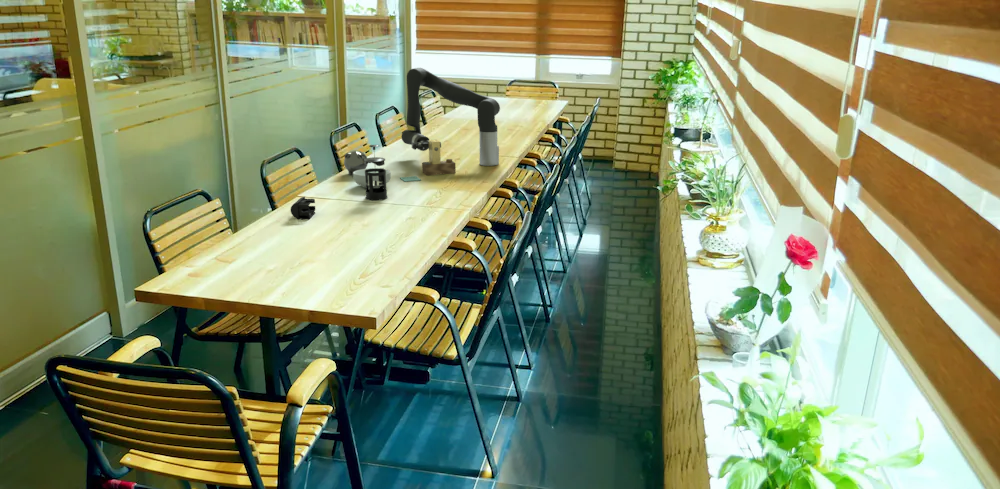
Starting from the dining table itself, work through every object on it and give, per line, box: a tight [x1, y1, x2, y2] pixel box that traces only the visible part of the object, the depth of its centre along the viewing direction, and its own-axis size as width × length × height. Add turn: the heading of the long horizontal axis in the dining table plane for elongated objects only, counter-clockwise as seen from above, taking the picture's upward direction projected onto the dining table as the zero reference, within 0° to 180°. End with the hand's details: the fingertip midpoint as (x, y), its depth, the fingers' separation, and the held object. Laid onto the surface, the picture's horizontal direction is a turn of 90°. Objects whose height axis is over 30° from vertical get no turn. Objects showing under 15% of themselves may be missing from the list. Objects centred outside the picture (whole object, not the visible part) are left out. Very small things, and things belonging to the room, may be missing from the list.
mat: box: [399, 175, 422, 183], centre depth 361 cm, size 8×8×1 cm
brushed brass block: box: [428, 139, 442, 165], centre depth 370 cm, size 4×6×11 cm, turn 23°
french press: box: [364, 144, 389, 202], centre depth 325 cm, size 12×9×23 cm
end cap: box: [290, 196, 316, 220], centre depth 300 cm, size 10×7×7 cm
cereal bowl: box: [352, 167, 392, 189], centre depth 346 cm, size 17×17×7 cm
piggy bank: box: [343, 149, 369, 176], centre depth 369 cm, size 11×15×12 cm
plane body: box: [421, 158, 457, 176], centre depth 373 cm, size 15×6×6 cm, turn 113°
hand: (430, 147), depth 375 cm, fingers open, 8 cm apart
